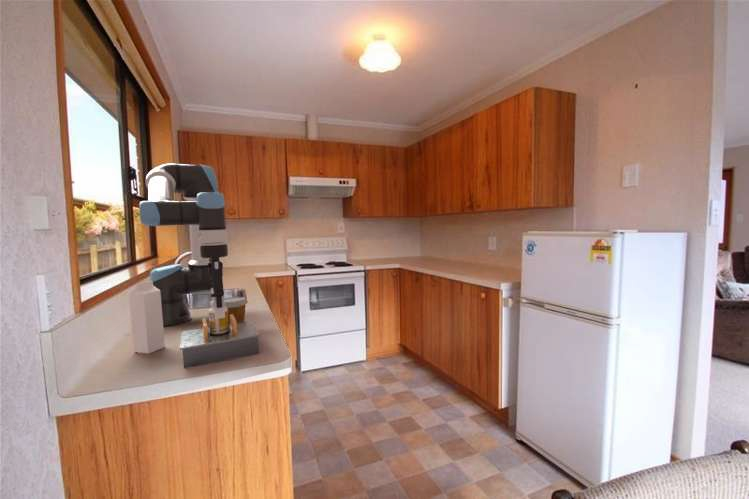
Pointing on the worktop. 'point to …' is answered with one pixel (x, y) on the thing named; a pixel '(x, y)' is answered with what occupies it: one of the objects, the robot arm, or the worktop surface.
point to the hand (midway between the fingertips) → (218, 312)
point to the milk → (146, 318)
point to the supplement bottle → (218, 321)
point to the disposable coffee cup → (236, 308)
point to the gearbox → (219, 343)
